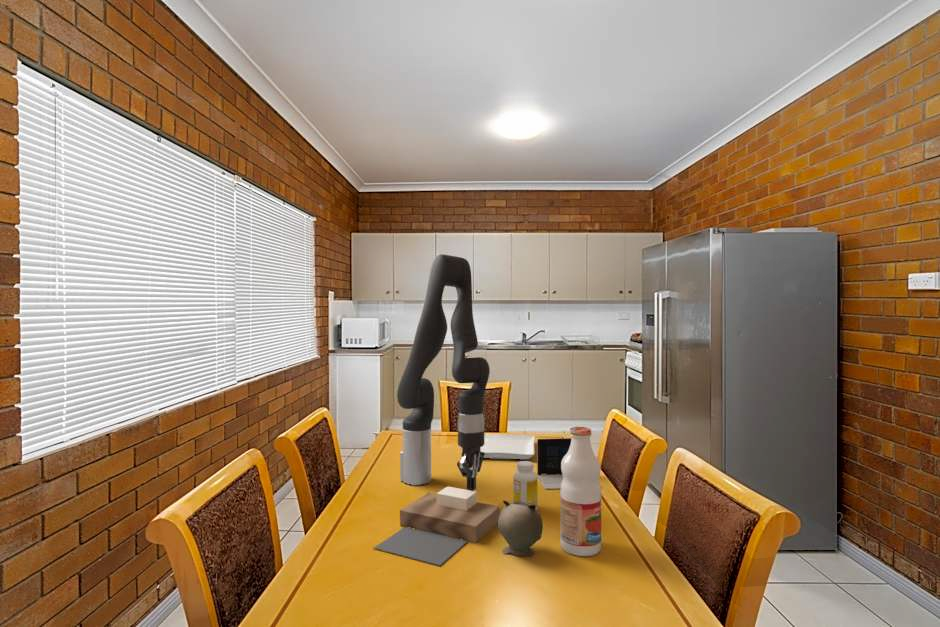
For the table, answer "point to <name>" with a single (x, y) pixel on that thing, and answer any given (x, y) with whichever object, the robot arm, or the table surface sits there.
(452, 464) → the table surface
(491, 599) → the table surface
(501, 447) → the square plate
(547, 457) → the laptop
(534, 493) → the supplement bottle
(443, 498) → the thick cream block
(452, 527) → the brown wooden block
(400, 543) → the mat
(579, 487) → the fruit juice
